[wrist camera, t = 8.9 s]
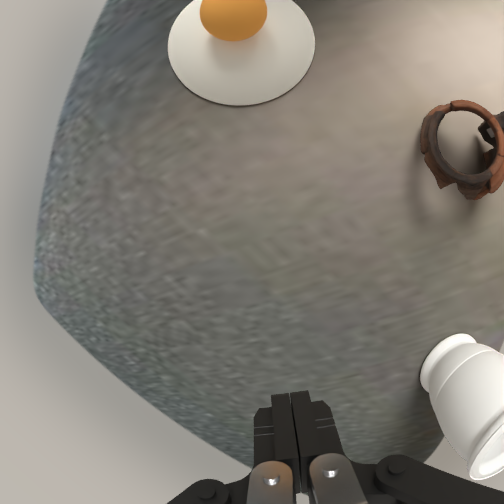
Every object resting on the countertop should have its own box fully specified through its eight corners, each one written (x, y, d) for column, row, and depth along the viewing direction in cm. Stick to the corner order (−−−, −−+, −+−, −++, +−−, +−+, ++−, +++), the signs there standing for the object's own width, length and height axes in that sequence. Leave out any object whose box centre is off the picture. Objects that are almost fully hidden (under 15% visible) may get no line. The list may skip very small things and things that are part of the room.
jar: (396, 394, 32) (448, 488, 17) (437, 316, 29) (522, 393, 15) (455, 399, 32) (510, 472, 18) (493, 331, 30) (568, 392, 15)
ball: (190, 29, 19) (200, 46, 24) (265, 33, 19) (262, 50, 24) (200, -29, 17) (208, -4, 22) (272, -25, 17) (268, -1, 22)
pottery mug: (456, 224, 28) (468, 218, 20) (400, 153, 30) (394, 128, 23) (527, 156, 23) (553, 134, 16) (470, 91, 25) (479, 53, 18)
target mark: (152, 14, 23) (151, 13, 22) (281, -27, 22) (281, -28, 21) (195, 128, 25) (195, 127, 25) (337, 80, 24) (338, 79, 24)
